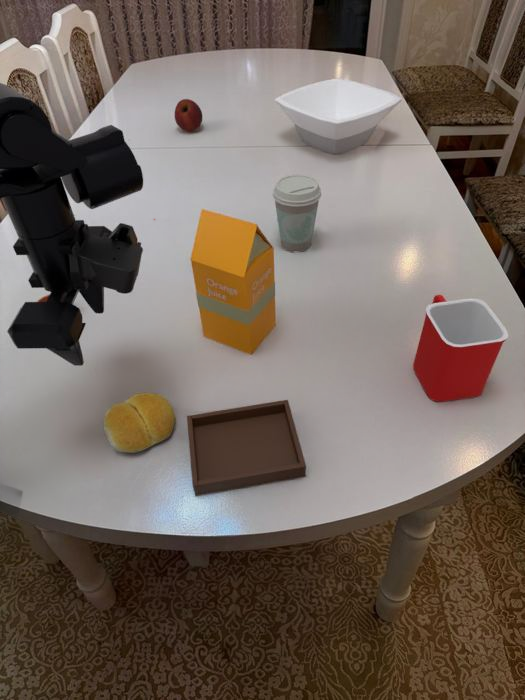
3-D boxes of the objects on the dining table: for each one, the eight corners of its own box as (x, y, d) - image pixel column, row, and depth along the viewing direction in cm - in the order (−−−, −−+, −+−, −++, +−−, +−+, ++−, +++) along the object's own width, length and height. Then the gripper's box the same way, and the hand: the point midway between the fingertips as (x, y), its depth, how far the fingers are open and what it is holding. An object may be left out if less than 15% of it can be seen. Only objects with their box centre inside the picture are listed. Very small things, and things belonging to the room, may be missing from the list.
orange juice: (229, 307, 82) (217, 195, 68) (276, 324, 78) (273, 210, 64) (202, 336, 77) (183, 222, 63) (251, 356, 74) (241, 240, 60)
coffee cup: (270, 254, 92) (268, 194, 84) (277, 230, 98) (276, 171, 90) (316, 257, 91) (319, 197, 83) (320, 232, 97) (323, 173, 88)
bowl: (335, 171, 115) (338, 126, 108) (267, 139, 129) (266, 97, 122) (404, 141, 125) (411, 98, 118) (334, 115, 140) (336, 75, 132)
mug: (488, 396, 67) (514, 339, 59) (430, 405, 66) (448, 348, 58) (451, 336, 75) (468, 279, 68) (398, 343, 74) (410, 287, 67)
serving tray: (195, 496, 58) (192, 486, 56) (189, 426, 65) (186, 415, 64) (305, 476, 59) (306, 466, 58) (287, 410, 66) (287, 399, 65)
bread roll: (186, 431, 65) (181, 413, 62) (121, 465, 61) (113, 447, 58) (159, 391, 70) (154, 372, 67) (98, 421, 66) (90, 402, 63)
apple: (171, 133, 134) (166, 102, 129) (185, 123, 139) (180, 92, 134) (195, 137, 132) (191, 105, 127) (208, 126, 137) (205, 95, 132)
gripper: (100, 279, 43) (139, 396, 54) (143, 179, 56) (167, 289, 67) (-26, 281, 43) (38, 396, 54) (47, 181, 56) (86, 290, 67)
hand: (90, 337), depth 61 cm, fingers open, 9 cm apart
